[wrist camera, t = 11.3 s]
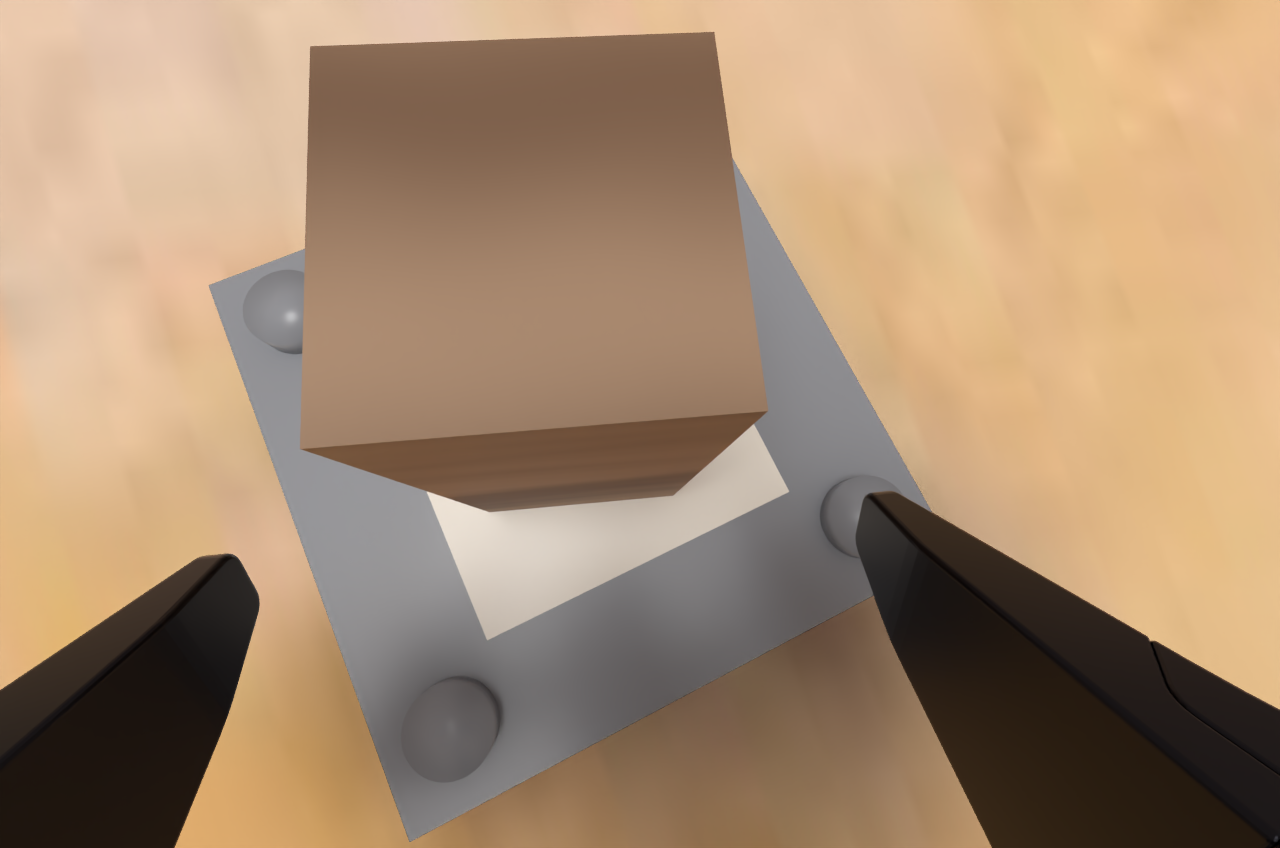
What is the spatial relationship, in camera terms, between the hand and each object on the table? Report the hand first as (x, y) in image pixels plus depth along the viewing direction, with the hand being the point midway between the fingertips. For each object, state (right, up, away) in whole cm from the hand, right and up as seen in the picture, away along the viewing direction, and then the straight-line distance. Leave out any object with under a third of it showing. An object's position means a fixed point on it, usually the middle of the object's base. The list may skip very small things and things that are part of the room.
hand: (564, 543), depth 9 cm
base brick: (-1, +1, +12) cm, 12 cm away
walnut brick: (-1, +2, +8) cm, 8 cm away
